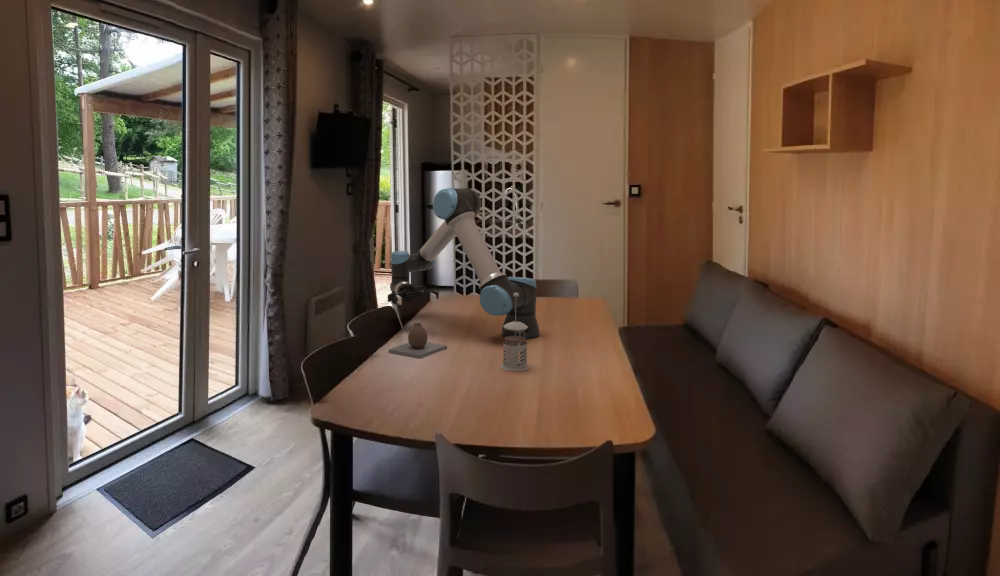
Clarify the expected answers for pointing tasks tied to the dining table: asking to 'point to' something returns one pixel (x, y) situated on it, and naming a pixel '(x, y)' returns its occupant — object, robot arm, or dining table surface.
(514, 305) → the robot arm
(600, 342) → the dining table surface
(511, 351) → the french press
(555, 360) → the dining table surface
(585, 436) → the dining table surface
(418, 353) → the slate tile
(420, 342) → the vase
